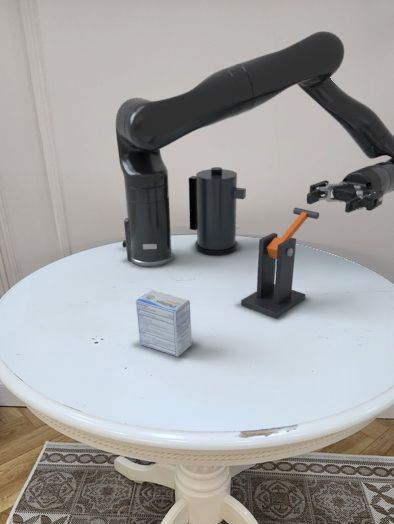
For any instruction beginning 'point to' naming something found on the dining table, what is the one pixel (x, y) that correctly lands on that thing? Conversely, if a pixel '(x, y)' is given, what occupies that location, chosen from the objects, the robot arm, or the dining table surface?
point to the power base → (279, 294)
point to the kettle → (214, 210)
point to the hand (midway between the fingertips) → (327, 203)
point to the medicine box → (164, 322)
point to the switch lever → (291, 229)
